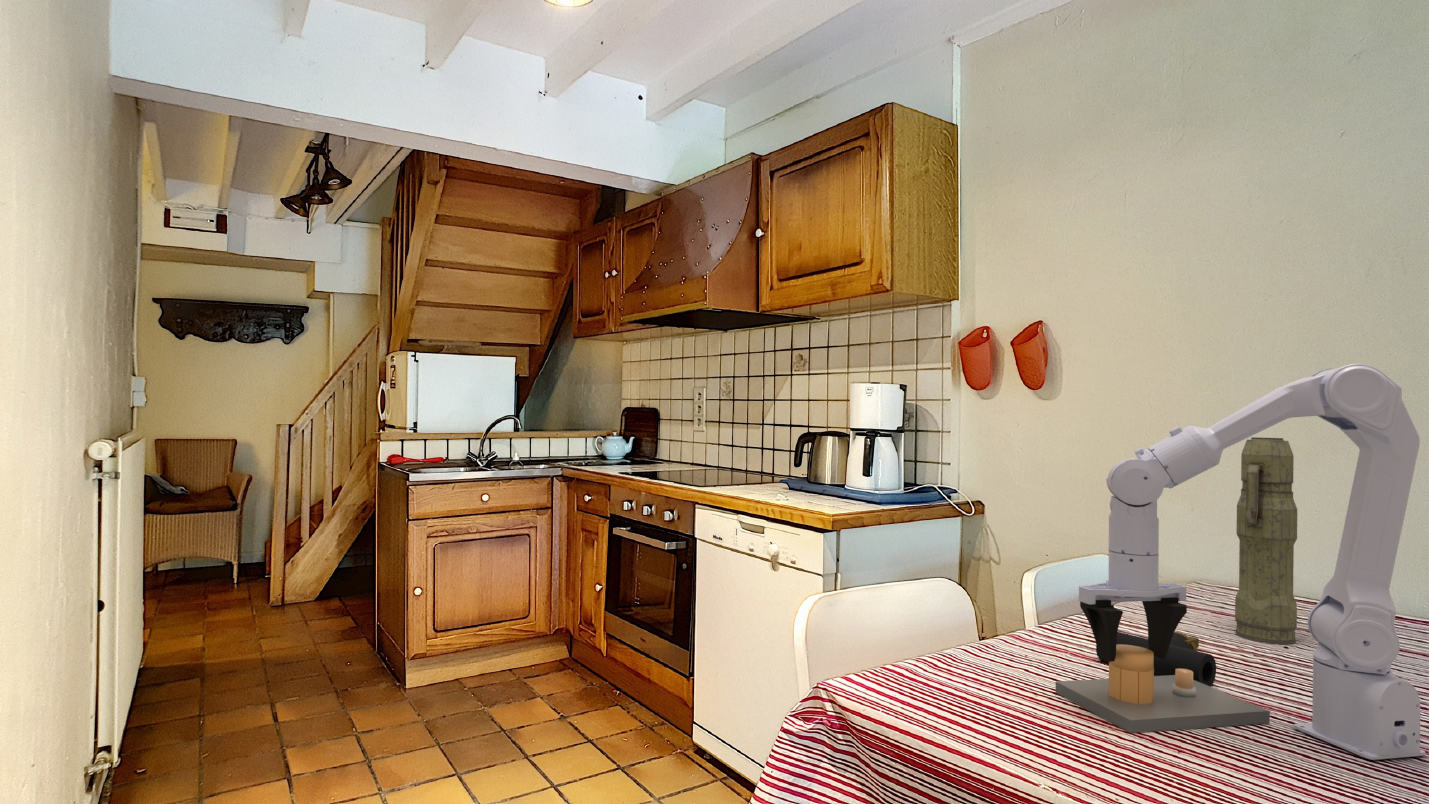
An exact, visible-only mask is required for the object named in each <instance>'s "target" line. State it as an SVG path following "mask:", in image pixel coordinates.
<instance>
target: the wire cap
mask: <svg viewBox="0 0 1429 804" xmlns="http://www.w3.org/2000/svg"><path fill="white" fill-rule="evenodd" d="M1108 679H1109V696H1111V697H1113V698H1115V699H1118V700H1121V701H1124V702H1130V703H1135V704H1149V703H1153V699H1154V653H1153V651H1151V650H1149V649H1146V648H1143V647H1138V646H1133V645H1122V644H1119V645H1116V657H1115V661H1112V662H1110V663H1108Z"/></svg>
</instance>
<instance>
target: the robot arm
mask: <svg viewBox="0 0 1429 804" xmlns="http://www.w3.org/2000/svg"><path fill="white" fill-rule="evenodd" d="M1402 389H1403V388H1402V387H1401V386H1400V384H1398V383H1396V381H1394V380H1393V379H1392V378H1390V377H1389V376H1388V375H1387V374H1386V373H1385V372H1383V371H1382V370H1381V369H1379V368H1377V367H1375V366H1373V365H1370V364H1367V363H1351V364H1349V363H1348V364H1346V365H1343V366H1341V367H1336V368H1331V367H1330V368H1324V369H1320V370H1318V371H1316V372H1314V373H1313V374H1311V375H1310V376H1309V377H1303V378H1299V379H1297V380H1295V381H1291V382H1289V383H1286V384H1285V385H1282V386H1280V387H1277V388H1275V389H1273V390H1272V391H1270V392H1268V393H1266V394H1264V395H1262V397H1259V398H1257V399H1255V400H1254V401H1253V402H1251V403H1249V404H1247V405H1245V406H1244V407H1241V408H1240V409H1238V410H1237V411H1234V412H1233V413H1232V414H1229V415H1228V416H1226V417H1224V418H1222V419H1221V420H1220V421H1218V422H1216V423H1214V424H1212V425H1211V426H1209V427H1207V428H1206V427H1202V426H1201V427H1200V426H1196V425H1187V426H1185V427H1184V428H1182V427H1181V426H1176V427H1174V428H1172V429H1170V430H1169V431H1168V432H1169V434H1170V435H1169V436H1168V437H1165V438H1164V439H1161V440H1160V441H1158V442H1156V443H1154V444H1152V445H1151V446H1148V447H1147V448H1144V449H1143V447H1139V448H1137V449H1135V450H1134V454H1135V456H1136V458H1126V459H1122V460H1119V461H1118V462H1116V463H1115V464H1114V465H1113V466H1112V467H1111V469H1110V470H1109V472H1108V476H1107V478H1106V479H1105V481H1106V482H1105V483H1106V486H1107V488H1108V490H1109V492H1110V493H1111V494H1112V495H1110V502H1109V509H1110V513H1109V515H1108V579H1106V580H1105V581H1106V582H1103V583H1102V582H1101V583H1097V584H1090V585H1080V586H1078V601H1079V606H1080V609H1081V610H1082V612H1083V613H1084V616H1085V618H1086V619H1087V622H1088V624H1089V626H1090V628H1091V629H1090V630H1091V631H1092V635H1093V637H1094V640H1095V646H1096V645H1097V649H1098V654H1099V657H1100V658H1102V659H1105V660H1107V661H1110V662H1112V661H1115V657H1116V641H1117V632H1119V631H1118V630H1119V626H1120V622H1121V619H1122V616H1123V614H1124V611H1123V610H1122V609H1118V608H1116V607H1115V605H1114V604H1112V603H1127V602H1128V603H1129V602H1142V605H1143V609H1144V613H1145V617H1146V623H1147V639H1148V646H1149V650H1151V651H1153V653H1154V656H1155V657H1158V658H1161V659H1166V655H1167V652H1168V649H1169V645H1170V642H1171V639H1172V637H1173V634H1174V632H1176V629H1177V628H1178V626H1179V624H1180V623H1181V621H1182V619H1183V618H1184V616H1186V614H1188V613H1187V612H1188V609H1187V608H1188V605H1187V604H1184V603H1181V602H1187V586H1186V585H1182V584H1179V583H1173V582H1172V583H1168V582H1167V583H1163V582H1161V583H1160V582H1159V561H1160V560H1159V556H1160V555H1159V554H1160V553H1159V549H1160V547H1159V541H1160V540H1159V536H1160V535H1159V531H1160V529H1159V526H1160V525H1159V524H1160V523H1159V522H1160V520H1159V519H1160V518H1159V516H1158V499H1160V497H1161V496H1162V494H1163V491H1164V488H1166V489H1167V488H1168V489H1174V487H1176V486H1178V485H1180V484H1183V483H1185V482H1187V481H1188V480H1191V479H1192V478H1195V477H1197V476H1198V475H1200V474H1202V473H1204V472H1206V471H1208V470H1210V469H1212V468H1215V467H1216V466H1218V465H1219V464H1220V461H1221V457H1222V453H1223V451H1224V449H1225V450H1226V449H1227V448H1230V447H1231V446H1233V445H1235V444H1238V443H1239V442H1242V441H1244V440H1245V439H1246V440H1247V439H1248V438H1251V437H1252V436H1255V435H1256V434H1258V433H1260V432H1263V431H1264V430H1267V429H1268V428H1271V427H1274V426H1275V425H1277V424H1279V423H1281V422H1284V421H1286V420H1287V419H1291V418H1292V419H1293V418H1303V417H1318V418H1320V419H1322V420H1323V421H1325V422H1328V423H1330V424H1332V425H1334V426H1335V427H1337V428H1339V429H1340V430H1341V432H1343V433H1344V435H1346V437H1347V438H1349V439H1350V441H1352V442H1353V444H1354V445H1356V446H1357V448H1358V449H1359V452H1358V456H1357V462H1356V467H1355V470H1354V476H1353V480H1352V481H1353V482H1352V486H1351V490H1350V496H1349V499H1348V505H1347V509H1346V515H1345V520H1344V525H1343V529H1342V535H1341V538H1340V544H1339V549H1338V555H1337V559H1336V563H1335V568H1334V573H1333V576H1332V577H1331V578H1330V580H1329V581H1328V582H1327V583H1326V584H1325V586H1324V587H1323V591H1322V594H1321V598H1320V600H1319V601H1318V602H1317V603H1316V605H1314V607H1312V609H1311V610H1310V611H1309V613H1308V615H1307V616H1308V617H1307V628H1308V631H1309V633H1310V635H1311V637H1312V638H1313V639H1314V640H1315V641H1316V642H1318V643H1317V646H1316V649H1315V650H1314V651H1313V652H1312V713H1311V714H1312V718H1311V721H1312V722H1302V723H1294V724H1293V725H1292V727H1293V729H1295V730H1298V731H1301V732H1302V733H1304V734H1307V735H1310V736H1312V737H1314V738H1317V739H1320V740H1322V741H1324V742H1326V743H1329V744H1331V745H1333V746H1336V747H1338V748H1340V749H1343V750H1346V751H1348V752H1349V753H1353V754H1356V755H1357V756H1360V757H1362V758H1365V759H1368V760H1370V761H1371V760H1372V761H1374V760H1375V761H1376V760H1387V759H1389V760H1390V759H1397V758H1398V759H1399V758H1401V759H1402V758H1410V757H1411V758H1412V757H1420V756H1421V757H1422V756H1426V751H1425V750H1423V749H1421V699H1420V695H1419V693H1418V691H1417V688H1415V686H1414V685H1413V684H1411V683H1410V682H1408V681H1407V680H1405V679H1401V678H1399V677H1398V676H1397V675H1396V674H1394V673H1393V672H1392V670H1391V669H1392V663H1393V662H1394V661H1395V660H1396V659H1397V657H1398V655H1399V653H1400V649H1401V648H1400V647H1401V646H1400V645H1401V644H1400V639H1399V637H1398V634H1397V632H1396V626H1395V621H1396V615H1397V611H1396V607H1395V604H1394V601H1393V598H1392V595H1391V592H1390V587H1391V582H1392V578H1393V572H1394V570H1395V569H1394V568H1395V563H1396V558H1397V555H1398V554H1397V553H1398V549H1399V544H1400V540H1401V535H1402V530H1403V526H1404V525H1403V524H1404V521H1405V516H1406V511H1407V506H1408V500H1409V497H1410V492H1411V487H1412V482H1413V478H1414V473H1415V469H1416V463H1417V459H1418V454H1419V449H1420V445H1421V444H1420V435H1419V432H1418V430H1417V428H1416V427H1415V424H1414V422H1413V420H1412V418H1411V416H1410V414H1409V412H1408V410H1407V407H1406V406H1405V403H1404V401H1403V391H1402Z"/></svg>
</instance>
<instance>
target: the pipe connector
mask: <svg viewBox="0 0 1429 804" xmlns="http://www.w3.org/2000/svg"><path fill="white" fill-rule="evenodd" d="M1199 640H1200V639H1199V638H1198V637H1193V636H1190V635H1187V634H1185V633H1182V632H1179V631H1175V632H1174V634H1173V637H1172V639H1171V642H1170V645H1169V649H1168V652H1167V655H1166V659H1161V658H1158V657H1155V656H1154V676H1167V675H1175V671H1176V669H1179V668H1180V669H1187V670H1191V671H1193V680H1195V681H1197V682H1200V683H1202V684H1205V685H1207V686H1210V687H1212V686H1213V685H1214V683H1215V681H1216V675H1217V664H1216V663H1217V662H1216V659H1215V657H1214V655H1213V654H1211V653H1206V652H1202V651H1198V648H1200V647H1199V646H1200V645H1199V643H1200V641H1199ZM1119 644H1122V645H1133V646H1138V647H1143V648H1146V649H1149V646H1148V638H1145V637H1142V636H1137V635H1133V634H1130V633H1126V632H1125V633H1124V632H1122V631H1118V632H1117V641H1116V645H1119ZM1095 651H1096V657H1098V659H1099V661H1102V662H1105V663H1108V664H1109V663H1110V661H1107V660H1105V659H1102V658H1100V657H1099V654H1098V649H1097V645H1096V644H1095Z"/></svg>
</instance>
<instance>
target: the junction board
mask: <svg viewBox="0 0 1429 804" xmlns="http://www.w3.org/2000/svg"><path fill="white" fill-rule="evenodd" d="M1055 694H1057V695H1059V696H1061V697H1063V698H1065V699H1067V700H1068V701H1070V702H1072V703H1074V704H1076V705H1078V706H1080V707H1081V708H1083V709H1086V710H1087V711H1088V712H1091V713H1092V714H1094V715H1096V716H1098V717H1100V718H1102V719H1104V720H1105V721H1107V722H1109V723H1111V724H1113V725H1114V726H1117V727H1118V728H1120V729H1122V730H1124V731H1126V732H1128V733H1130V734H1135V733H1151V732H1162V731H1165V732H1166V731H1178V730H1191V729H1193V730H1194V729H1203V728H1204V729H1206V728H1219V727H1235V726H1245V725H1247V726H1248V725H1249V726H1250V725H1259V724H1263V725H1264V724H1270V722H1271V720H1270V719H1271V718H1270V717H1271V716H1270V715H1271V711H1270V710H1269V709H1266V708H1263V707H1262V706H1258V705H1256V704H1254V703H1252V702H1249V701H1247V700H1244V699H1241V698H1239V697H1237V696H1234V695H1231V694H1230V693H1227V692H1225V691H1221V690H1219V689H1218V688H1217V689H1216V688H1215V687H1212V686H1211V687H1210V686H1207V685H1205V684H1202V683H1200V682H1197V681H1195V680H1193V671H1191V670H1187V669H1180V668H1179V669H1176V671H1175V675H1167V676H1154V699H1153V703H1149V704H1135V703H1130V702H1124V701H1121V700H1118V699H1115V698H1113V697H1111V696H1109V678H1096V679H1093V678H1092V679H1080V680H1079V679H1078V680H1059V681H1055Z"/></svg>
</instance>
